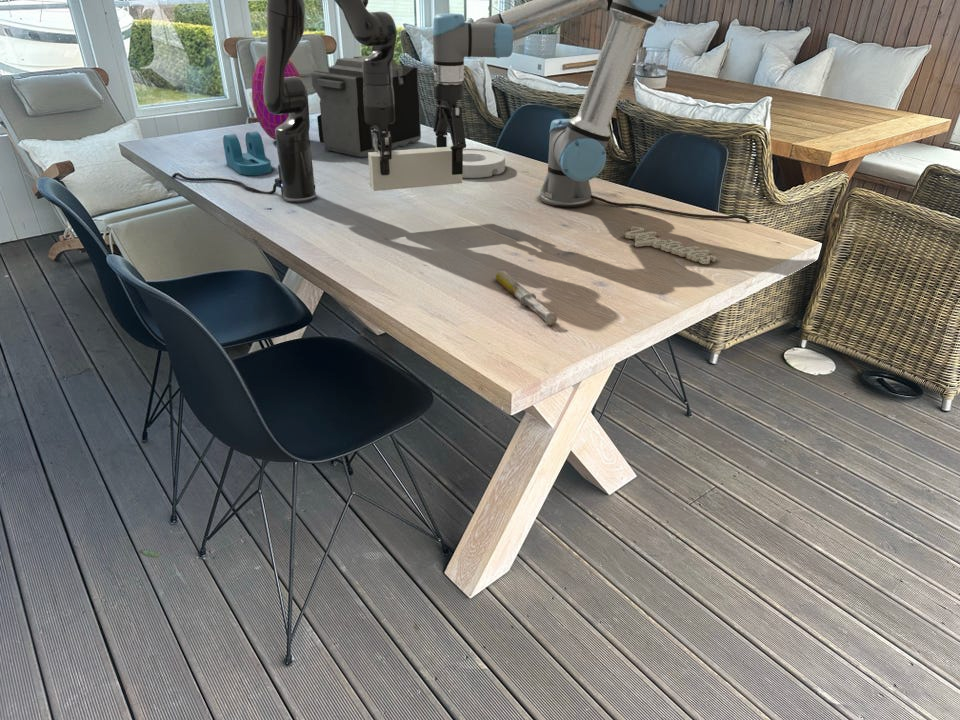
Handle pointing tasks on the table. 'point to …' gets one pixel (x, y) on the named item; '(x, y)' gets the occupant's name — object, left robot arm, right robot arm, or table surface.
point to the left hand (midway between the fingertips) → (382, 171)
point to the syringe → (525, 297)
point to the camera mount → (246, 154)
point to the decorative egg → (263, 115)
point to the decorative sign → (669, 245)
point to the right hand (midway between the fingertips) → (449, 167)
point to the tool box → (345, 107)
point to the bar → (413, 169)
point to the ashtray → (482, 162)
